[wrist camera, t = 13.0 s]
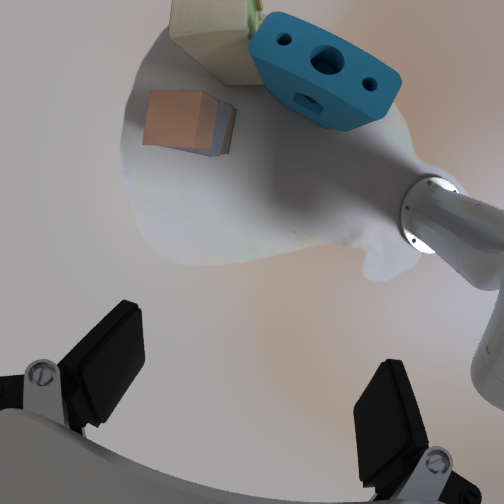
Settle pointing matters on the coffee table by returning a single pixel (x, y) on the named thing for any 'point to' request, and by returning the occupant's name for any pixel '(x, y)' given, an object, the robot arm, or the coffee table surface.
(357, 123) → the block
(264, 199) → the coffee table surface
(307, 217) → the coffee table surface
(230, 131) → the tower bottom
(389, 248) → the coffee table surface
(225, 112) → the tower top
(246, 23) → the cream box
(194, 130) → the terracotta cube
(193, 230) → the coffee table surface
